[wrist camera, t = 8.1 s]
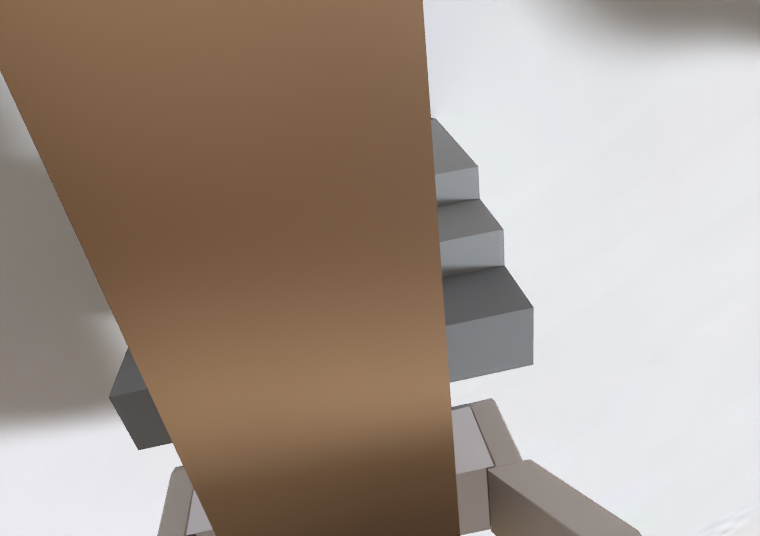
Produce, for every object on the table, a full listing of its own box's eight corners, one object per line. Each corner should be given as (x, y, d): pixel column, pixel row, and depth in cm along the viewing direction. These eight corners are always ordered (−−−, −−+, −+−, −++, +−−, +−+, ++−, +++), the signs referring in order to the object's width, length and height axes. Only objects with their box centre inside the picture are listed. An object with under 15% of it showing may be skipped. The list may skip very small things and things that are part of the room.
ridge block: (155, 171, 19) (67, 324, 11) (435, 118, 19) (534, 229, 12) (208, 309, 22) (168, 503, 14) (448, 260, 23) (532, 421, 15)
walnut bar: (120, -27, 8) (-36, -5, 4) (356, -61, 8) (417, -67, 4) (327, 612, 17) (339, 802, 13) (434, 588, 17) (476, 768, 14)
